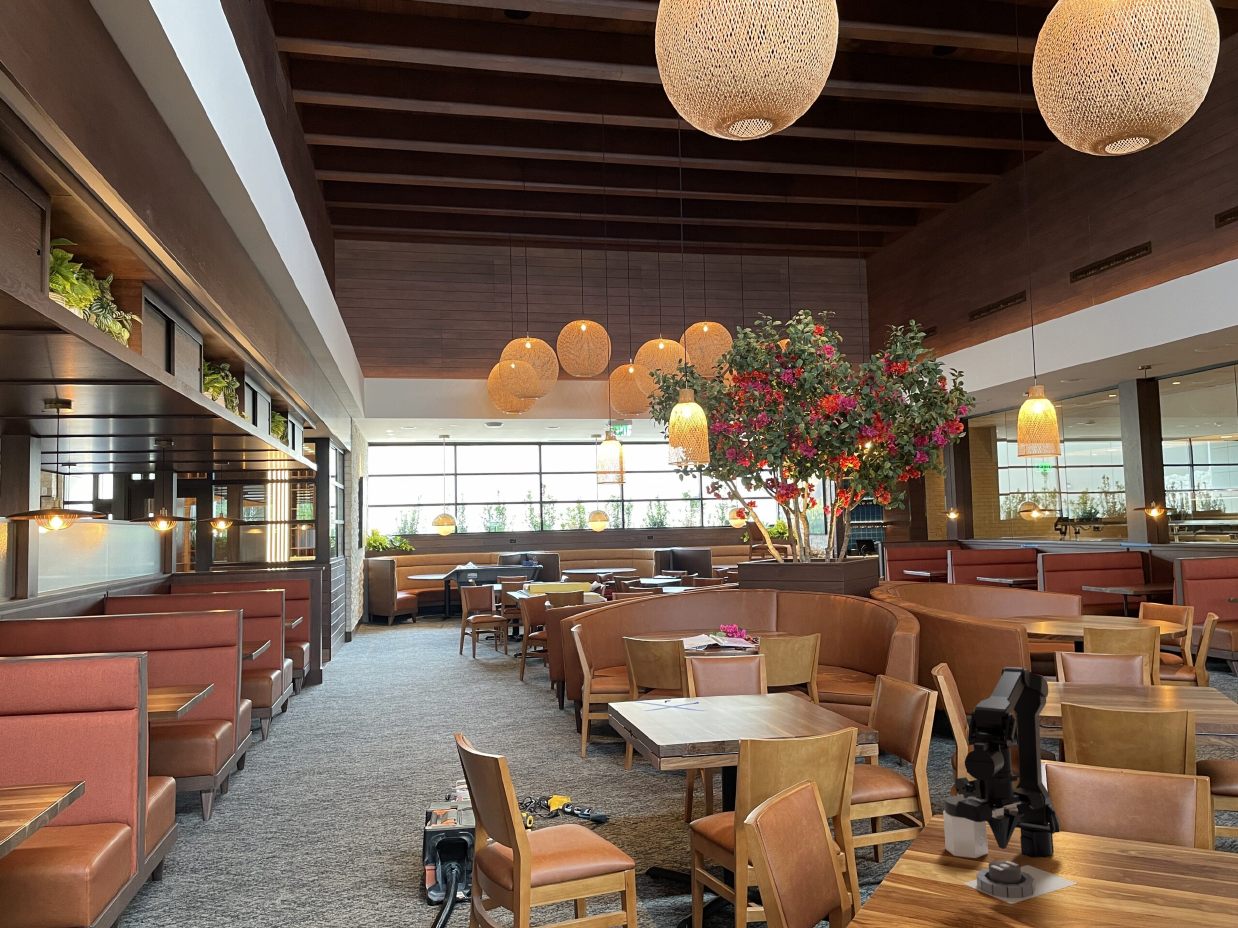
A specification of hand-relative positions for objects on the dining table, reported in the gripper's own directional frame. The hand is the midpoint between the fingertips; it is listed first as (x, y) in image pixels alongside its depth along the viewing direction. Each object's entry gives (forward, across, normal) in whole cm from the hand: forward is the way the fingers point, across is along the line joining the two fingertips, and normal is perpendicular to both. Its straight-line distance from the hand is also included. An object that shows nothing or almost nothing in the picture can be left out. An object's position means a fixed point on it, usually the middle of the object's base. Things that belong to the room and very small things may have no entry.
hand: (1002, 847), depth 181 cm
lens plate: (+9, -4, 0) cm, 10 cm away
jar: (+9, -10, -19) cm, 23 cm away
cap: (+8, 0, 0) cm, 8 cm away
